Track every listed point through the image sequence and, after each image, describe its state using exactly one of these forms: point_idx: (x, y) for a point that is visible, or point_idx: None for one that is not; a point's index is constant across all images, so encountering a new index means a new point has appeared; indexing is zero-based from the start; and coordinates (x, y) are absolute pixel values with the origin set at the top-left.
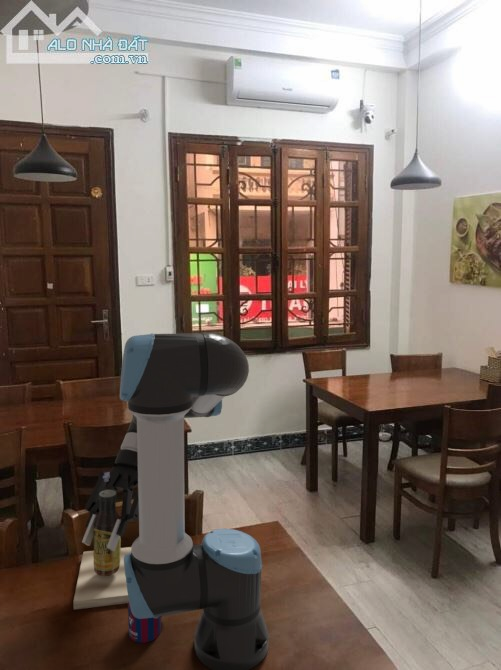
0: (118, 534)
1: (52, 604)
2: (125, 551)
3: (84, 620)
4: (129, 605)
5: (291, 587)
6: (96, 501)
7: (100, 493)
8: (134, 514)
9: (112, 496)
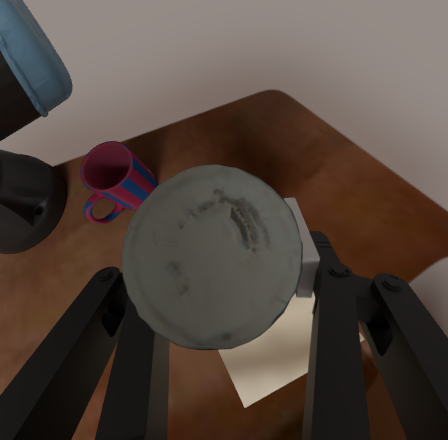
0: None
1: (304, 189)
2: (263, 373)
3: None
4: (127, 150)
5: None
6: (387, 365)
7: (273, 209)
8: (89, 287)
9: (134, 216)
